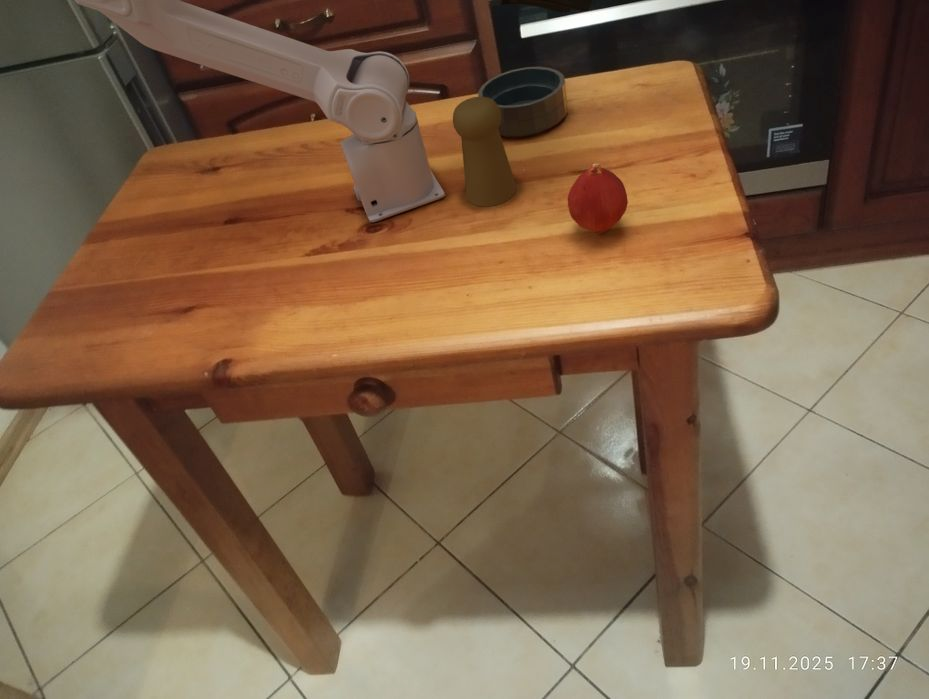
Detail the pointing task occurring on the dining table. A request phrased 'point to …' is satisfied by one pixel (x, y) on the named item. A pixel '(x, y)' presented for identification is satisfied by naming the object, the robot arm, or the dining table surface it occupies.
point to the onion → (597, 199)
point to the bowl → (527, 100)
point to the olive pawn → (483, 152)
